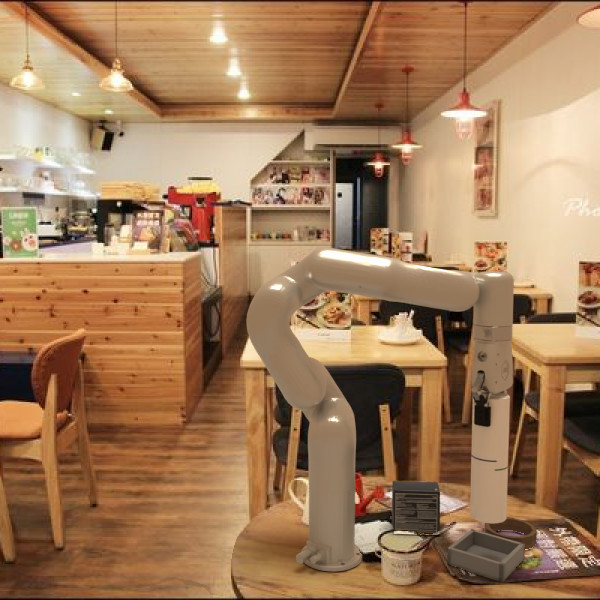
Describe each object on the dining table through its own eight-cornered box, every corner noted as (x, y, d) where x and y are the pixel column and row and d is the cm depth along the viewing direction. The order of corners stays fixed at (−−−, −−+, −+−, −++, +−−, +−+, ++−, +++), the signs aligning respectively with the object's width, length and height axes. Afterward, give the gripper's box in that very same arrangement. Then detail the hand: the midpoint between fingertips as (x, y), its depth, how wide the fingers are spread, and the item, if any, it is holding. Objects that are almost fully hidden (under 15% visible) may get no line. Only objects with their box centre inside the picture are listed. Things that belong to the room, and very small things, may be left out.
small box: (437, 524, 157) (438, 480, 157) (440, 537, 151) (441, 491, 150) (391, 522, 159) (392, 479, 158) (392, 535, 152) (393, 489, 151)
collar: (525, 556, 142) (525, 542, 142) (477, 542, 148) (477, 528, 148) (542, 538, 150) (543, 525, 150) (496, 526, 157) (496, 513, 156)
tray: (502, 582, 131) (503, 565, 131) (447, 564, 138) (447, 548, 138) (524, 560, 140) (524, 543, 140) (471, 544, 147) (471, 528, 147)
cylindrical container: (468, 508, 142) (470, 390, 140) (503, 510, 141) (506, 391, 139) (472, 522, 135) (474, 398, 133) (509, 524, 134) (512, 400, 132)
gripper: (493, 340, 126) (490, 434, 127) (527, 330, 139) (524, 415, 141) (455, 337, 130) (453, 427, 132) (491, 327, 144) (489, 409, 146)
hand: (490, 420), depth 136 cm, fingers closed on cylindrical container, 7 cm apart
